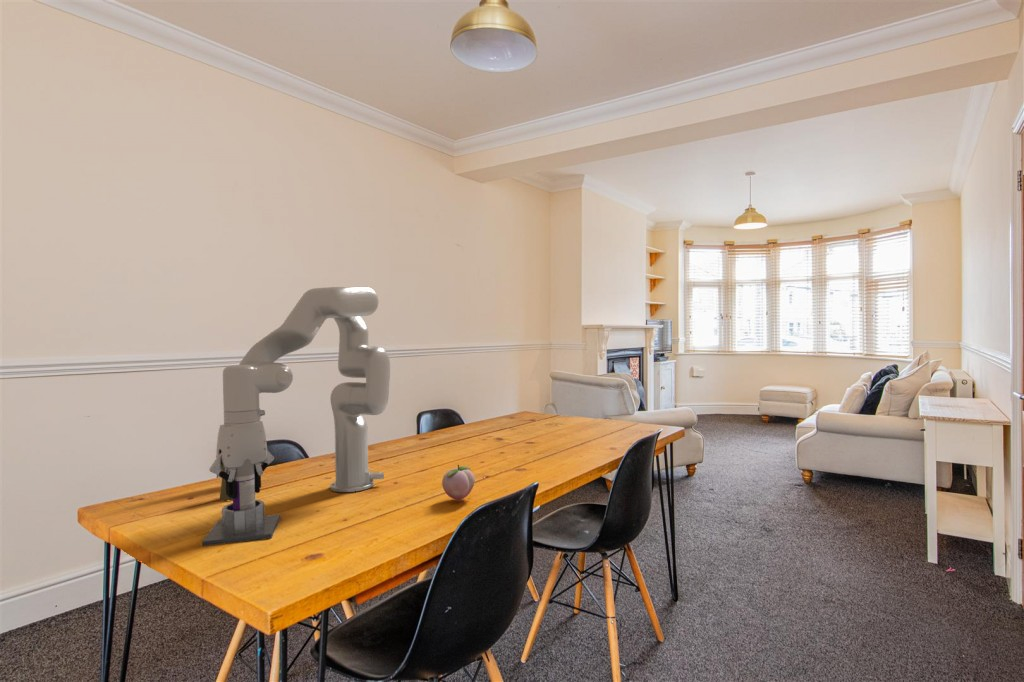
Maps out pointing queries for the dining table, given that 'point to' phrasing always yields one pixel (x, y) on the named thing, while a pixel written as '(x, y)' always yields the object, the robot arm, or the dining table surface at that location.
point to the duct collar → (242, 525)
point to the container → (245, 486)
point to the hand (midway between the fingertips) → (243, 493)
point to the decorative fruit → (458, 482)
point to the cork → (224, 489)
